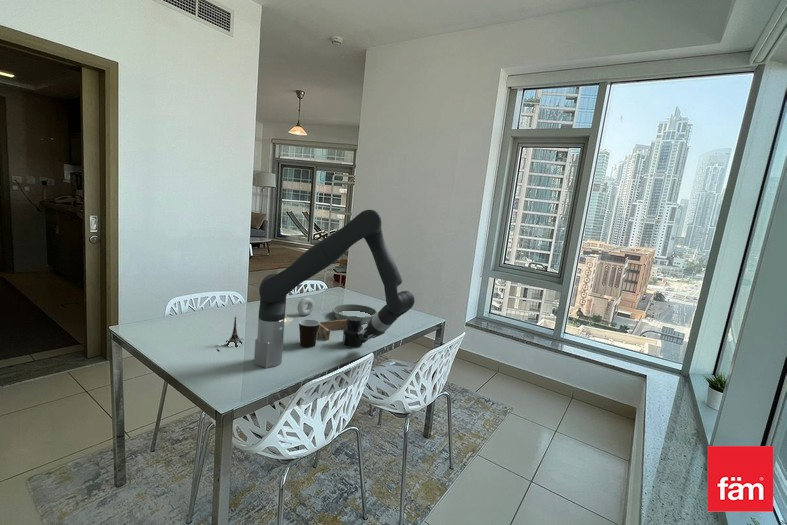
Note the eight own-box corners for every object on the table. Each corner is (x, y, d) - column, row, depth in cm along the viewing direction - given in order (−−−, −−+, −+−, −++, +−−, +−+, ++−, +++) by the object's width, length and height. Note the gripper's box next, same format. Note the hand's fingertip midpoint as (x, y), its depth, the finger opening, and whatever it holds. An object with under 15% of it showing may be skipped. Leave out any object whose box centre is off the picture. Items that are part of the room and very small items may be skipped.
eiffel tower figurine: (248, 338, 162) (250, 309, 160) (257, 347, 154) (258, 315, 152) (211, 344, 152) (212, 312, 150) (218, 353, 144) (219, 320, 142)
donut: (299, 317, 195) (300, 299, 193) (295, 316, 197) (296, 297, 195) (314, 314, 202) (316, 297, 201) (310, 313, 204) (312, 295, 203)
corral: (362, 335, 178) (363, 326, 178) (326, 340, 168) (327, 330, 167) (350, 327, 188) (350, 318, 187) (315, 331, 178) (316, 322, 177)
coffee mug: (313, 350, 155) (314, 327, 154) (293, 346, 157) (295, 323, 156) (323, 340, 167) (325, 319, 165) (305, 337, 168) (307, 316, 167)
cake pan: (370, 311, 221) (370, 303, 220) (382, 325, 198) (382, 317, 197) (328, 310, 213) (329, 303, 212) (335, 325, 190) (336, 316, 189)
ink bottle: (350, 338, 173) (352, 313, 171) (366, 343, 169) (369, 318, 167) (337, 344, 164) (340, 318, 162) (354, 350, 160) (357, 323, 158)
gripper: (391, 312, 154) (372, 331, 165) (363, 315, 146) (346, 334, 158) (397, 329, 150) (378, 347, 162) (369, 332, 143) (351, 351, 154)
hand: (362, 340), depth 160 cm, fingers closed
